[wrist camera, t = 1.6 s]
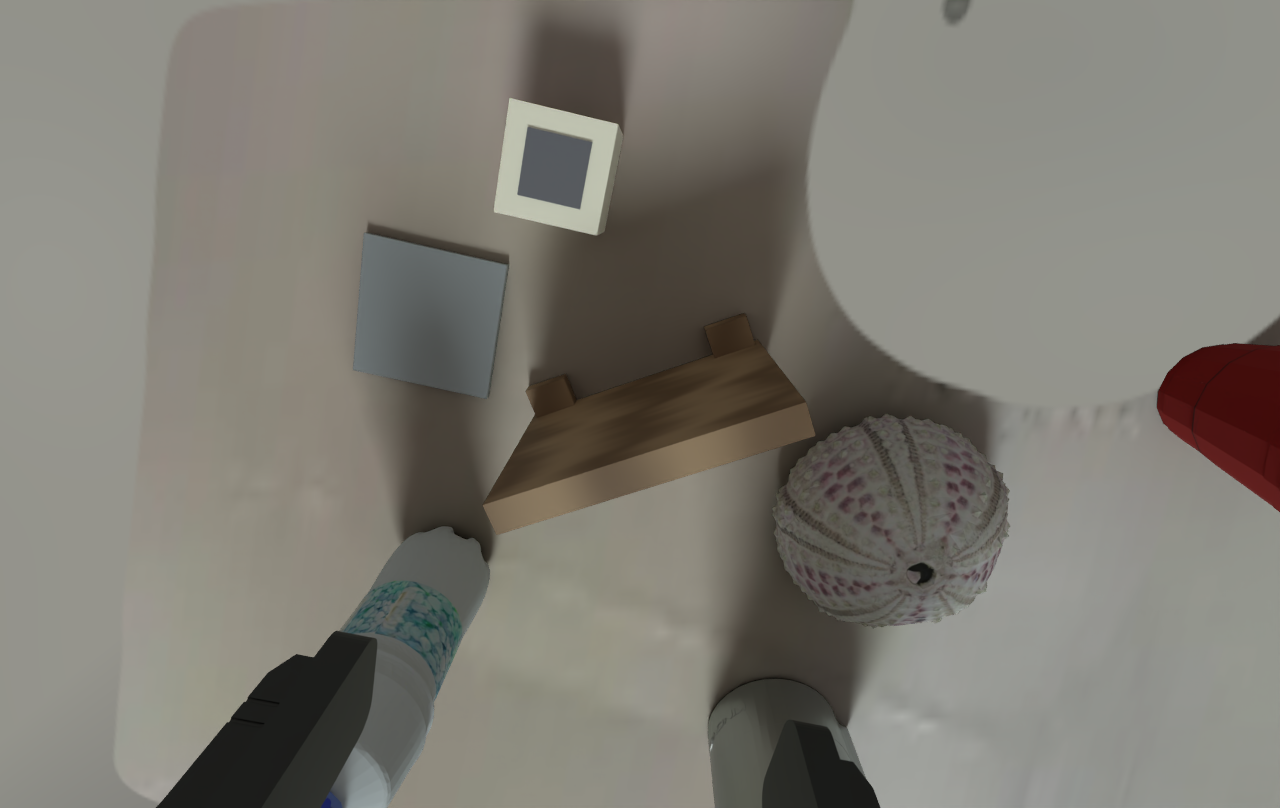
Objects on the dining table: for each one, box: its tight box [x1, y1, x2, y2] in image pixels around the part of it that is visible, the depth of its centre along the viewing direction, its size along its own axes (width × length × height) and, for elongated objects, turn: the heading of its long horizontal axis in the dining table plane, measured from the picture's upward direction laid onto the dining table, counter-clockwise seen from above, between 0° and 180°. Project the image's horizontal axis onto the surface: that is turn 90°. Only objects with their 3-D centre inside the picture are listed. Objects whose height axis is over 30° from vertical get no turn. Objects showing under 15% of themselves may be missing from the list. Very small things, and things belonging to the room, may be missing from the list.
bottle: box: [313, 526, 490, 808], centre depth 31 cm, size 7×7×20 cm
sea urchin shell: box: [772, 413, 1010, 628], centre depth 35 cm, size 13×14×8 cm
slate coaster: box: [353, 233, 509, 399], centre depth 35 cm, size 8×8×1 cm
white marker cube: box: [494, 98, 623, 236], centre depth 31 cm, size 5×5×5 cm
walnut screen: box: [483, 313, 816, 535], centre depth 31 cm, size 14×5×12 cm, turn 109°
